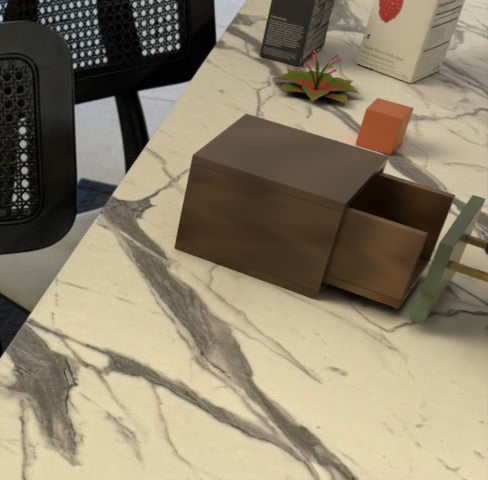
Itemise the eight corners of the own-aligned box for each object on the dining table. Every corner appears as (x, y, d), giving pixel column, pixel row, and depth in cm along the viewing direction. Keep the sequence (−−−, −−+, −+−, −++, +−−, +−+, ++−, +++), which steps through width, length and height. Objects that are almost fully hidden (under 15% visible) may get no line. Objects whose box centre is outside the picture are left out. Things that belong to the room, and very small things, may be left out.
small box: (281, 36, 149) (300, -42, 142) (324, 47, 147) (345, -32, 140) (255, 55, 142) (274, -25, 135) (300, 67, 140) (321, -14, 133)
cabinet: (358, 247, 103) (388, 156, 96) (315, 299, 95) (345, 204, 88) (225, 202, 108) (246, 113, 102) (173, 248, 100) (192, 154, 93)
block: (401, 143, 123) (413, 107, 120) (390, 155, 120) (403, 118, 117) (366, 133, 125) (377, 97, 122) (354, 144, 122) (366, 108, 119)
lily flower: (263, 97, 131) (271, 61, 128) (275, 67, 139) (284, 32, 136) (357, 116, 129) (368, 79, 125) (364, 84, 137) (375, 49, 134)
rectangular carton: (352, 64, 143) (386, -53, 133) (385, 51, 148) (420, -63, 138) (410, 85, 138) (450, -34, 128) (442, 71, 143) (482, -45, 133)
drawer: (515, 293, 96) (550, 218, 91) (487, 348, 89) (524, 269, 84) (321, 228, 103) (344, 155, 98) (280, 274, 96) (302, 197, 91)
